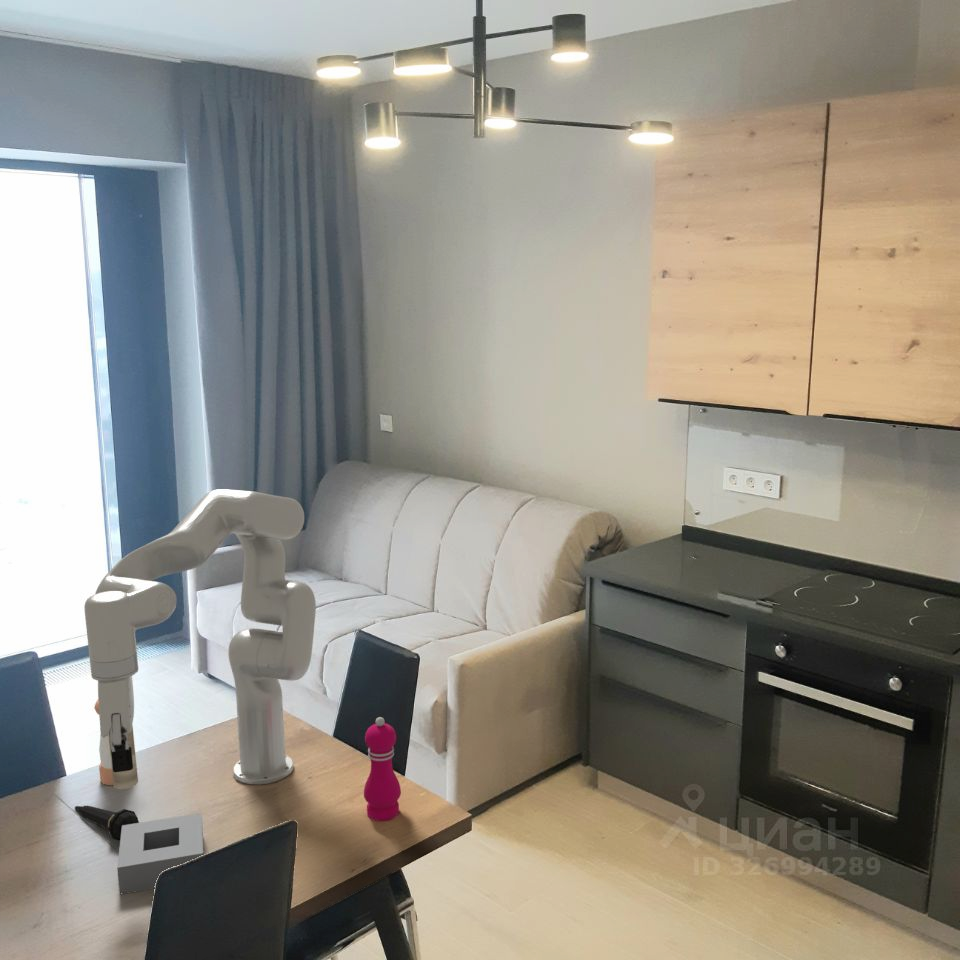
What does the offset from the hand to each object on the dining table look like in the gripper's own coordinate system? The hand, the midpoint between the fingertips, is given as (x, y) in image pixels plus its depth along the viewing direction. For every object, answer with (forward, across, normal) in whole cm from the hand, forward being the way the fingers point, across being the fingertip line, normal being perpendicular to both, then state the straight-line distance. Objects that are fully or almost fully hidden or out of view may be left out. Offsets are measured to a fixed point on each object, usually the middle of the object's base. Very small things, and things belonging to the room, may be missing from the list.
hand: (124, 763), depth 165 cm
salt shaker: (+21, -37, -6) cm, 43 cm away
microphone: (+21, -18, -6) cm, 29 cm away
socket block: (+21, 0, +5) cm, 21 cm away
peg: (+4, 0, 0) cm, 4 cm away
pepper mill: (+21, -6, +46) cm, 51 cm away
